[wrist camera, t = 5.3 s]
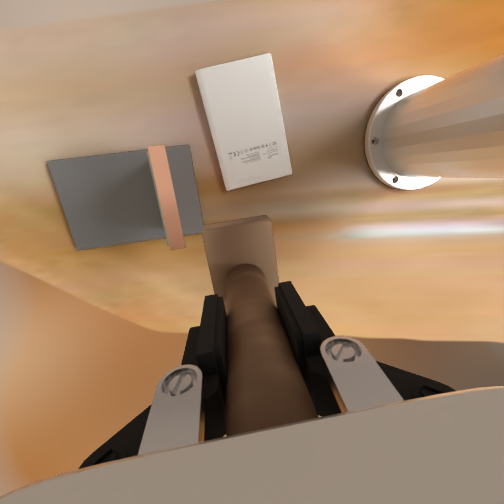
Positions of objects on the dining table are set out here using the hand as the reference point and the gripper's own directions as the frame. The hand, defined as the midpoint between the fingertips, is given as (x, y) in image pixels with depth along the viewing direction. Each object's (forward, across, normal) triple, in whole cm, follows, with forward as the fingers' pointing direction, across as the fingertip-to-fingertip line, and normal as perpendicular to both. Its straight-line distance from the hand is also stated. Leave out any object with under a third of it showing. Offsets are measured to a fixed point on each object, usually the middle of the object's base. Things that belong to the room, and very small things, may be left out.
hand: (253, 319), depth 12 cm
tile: (+20, +8, -5) cm, 22 cm away
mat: (+22, +11, -5) cm, 25 cm away
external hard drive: (+23, -3, -11) cm, 25 cm away
